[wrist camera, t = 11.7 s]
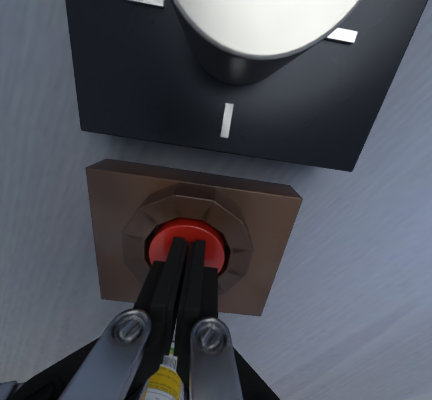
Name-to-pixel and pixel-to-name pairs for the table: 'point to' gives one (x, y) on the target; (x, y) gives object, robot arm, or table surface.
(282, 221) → the button block
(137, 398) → the robot arm
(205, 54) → the timer knob
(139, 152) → the table surface
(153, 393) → the supplement bottle
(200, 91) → the control panel
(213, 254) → the button
